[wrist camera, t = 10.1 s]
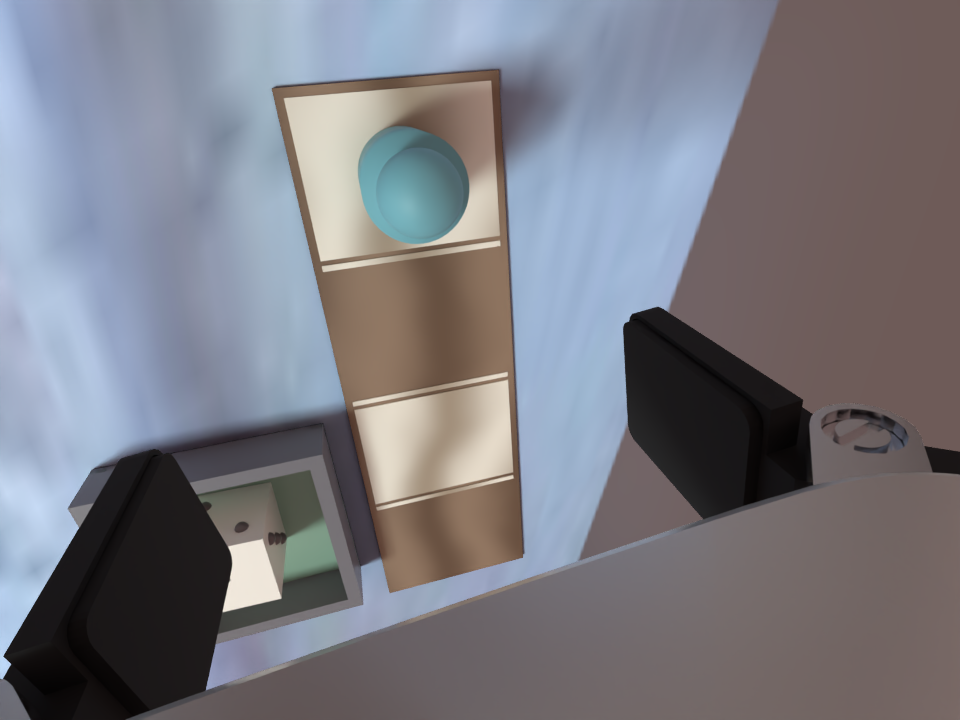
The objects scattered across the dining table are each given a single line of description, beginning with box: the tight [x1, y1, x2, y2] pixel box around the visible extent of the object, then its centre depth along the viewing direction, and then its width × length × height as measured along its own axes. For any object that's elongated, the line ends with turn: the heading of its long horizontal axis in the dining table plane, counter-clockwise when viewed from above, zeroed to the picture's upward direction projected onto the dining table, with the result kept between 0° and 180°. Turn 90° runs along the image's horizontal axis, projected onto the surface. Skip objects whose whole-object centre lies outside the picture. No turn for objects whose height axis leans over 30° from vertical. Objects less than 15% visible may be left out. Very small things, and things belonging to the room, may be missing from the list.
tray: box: [68, 423, 363, 644], centre depth 30 cm, size 12×12×3 cm
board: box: [272, 70, 523, 593], centre depth 31 cm, size 10×32×1 cm, turn 4°
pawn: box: [358, 126, 469, 244], centre depth 21 cm, size 4×4×8 cm
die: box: [198, 482, 287, 612], centre depth 29 cm, size 5×5×4 cm
